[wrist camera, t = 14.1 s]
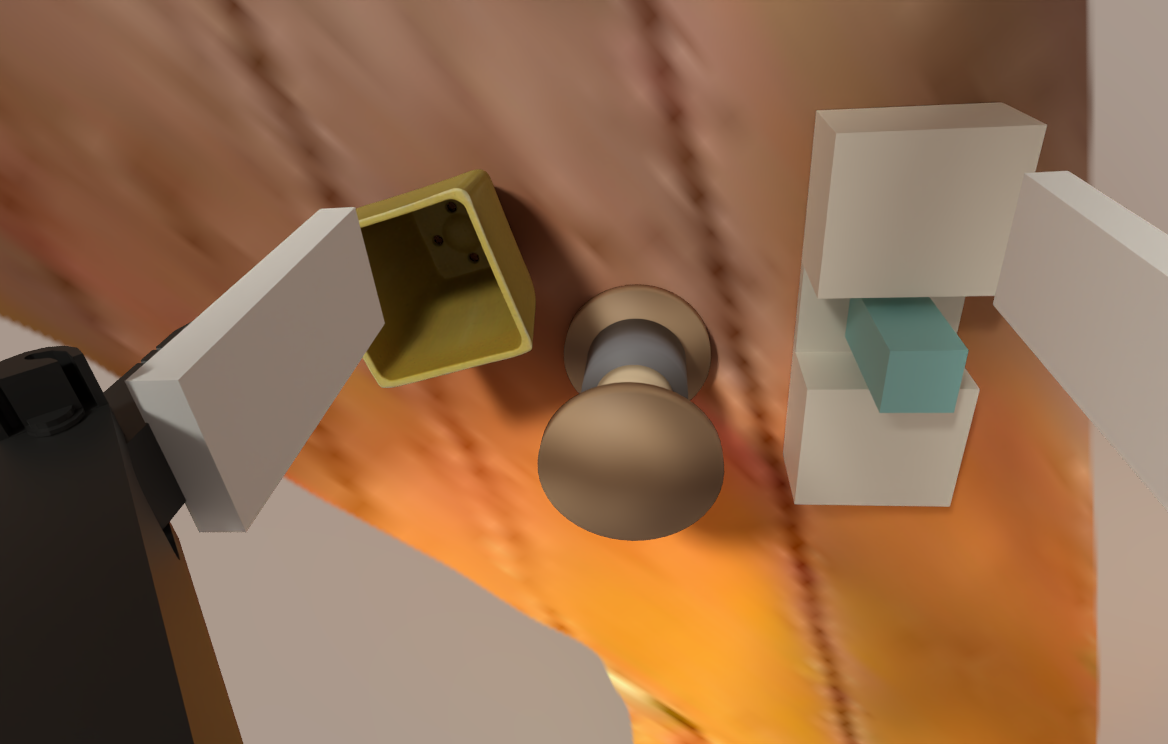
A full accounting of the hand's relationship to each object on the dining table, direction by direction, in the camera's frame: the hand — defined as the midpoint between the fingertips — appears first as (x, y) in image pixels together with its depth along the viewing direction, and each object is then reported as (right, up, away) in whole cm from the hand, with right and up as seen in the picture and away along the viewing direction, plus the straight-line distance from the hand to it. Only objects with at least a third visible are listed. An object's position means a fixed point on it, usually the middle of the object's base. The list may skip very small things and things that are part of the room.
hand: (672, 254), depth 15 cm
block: (+15, +1, +27) cm, 31 cm away
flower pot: (-9, +6, +28) cm, 30 cm away
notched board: (+15, +2, +28) cm, 31 cm away
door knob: (+2, -1, +31) cm, 31 cm away
